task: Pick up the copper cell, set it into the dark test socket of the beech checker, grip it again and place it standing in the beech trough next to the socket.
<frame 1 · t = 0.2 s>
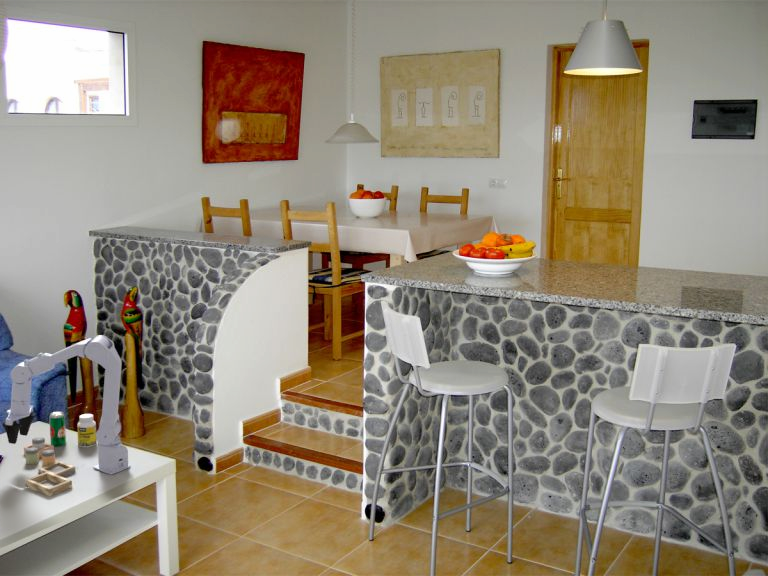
hand: (18, 438, 268), 10 cm above the table, tool pointing down, fingers open, 7 cm apart
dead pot: (39, 454, 282), on the table
pill bottle: (87, 446, 291), on the table
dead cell: (39, 453, 281), point 1 cm above the table, touching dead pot
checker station: (52, 477, 264), on the table
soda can: (58, 446, 290), on the table
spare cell: (32, 463, 274), on the table
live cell: (49, 466, 272), on the table
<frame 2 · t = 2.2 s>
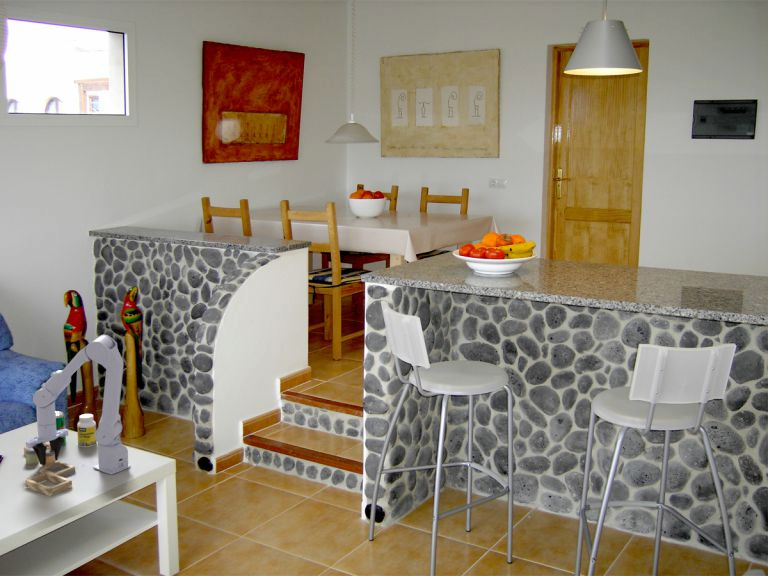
hand: (48, 462, 272), 1 cm above the table, tool pointing down, fingers closed on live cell, 4 cm apart
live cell: (49, 466, 272), on the table, touching gripper
everything else where it was.
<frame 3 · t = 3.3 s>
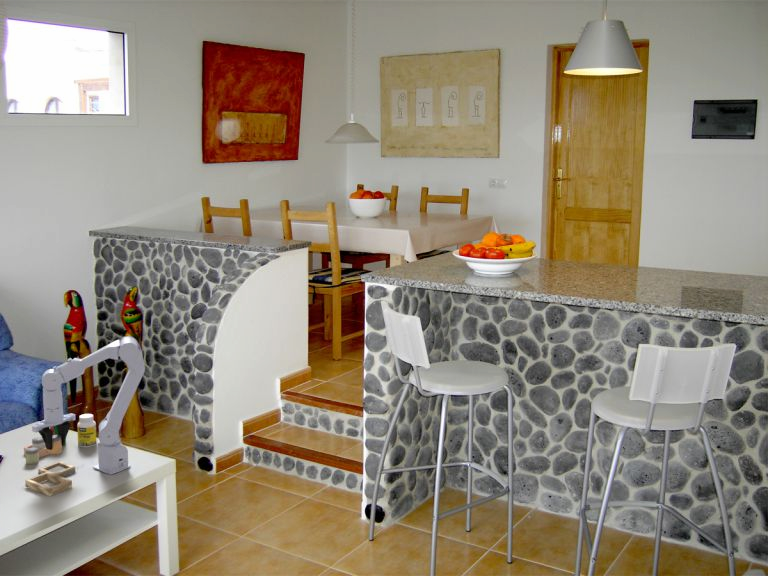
hand: (55, 447, 266), 9 cm above the table, tool pointing down, fingers closed on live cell, 4 cm apart
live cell: (55, 451, 266), point 7 cm above the table, touching gripper
everything else where it was.
when the fingers open (3 cm above the table, at t = 4.9 s): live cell stays where it is, resting on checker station.
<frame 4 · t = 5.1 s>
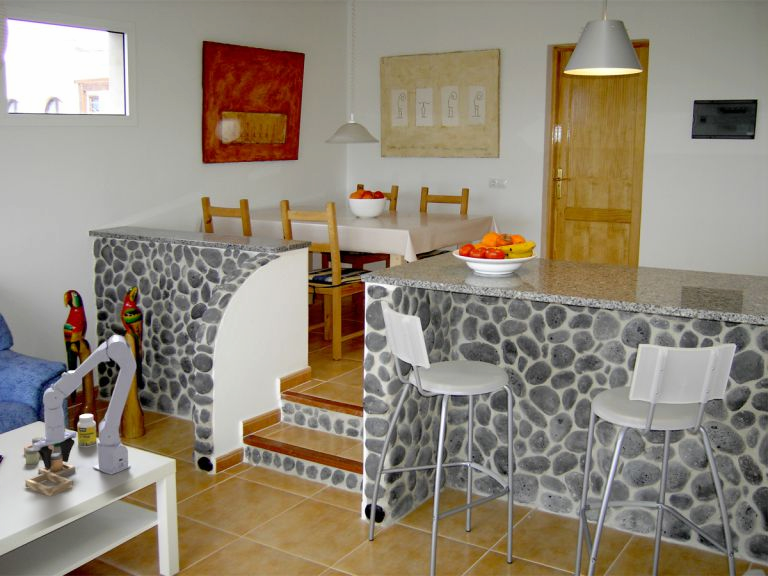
hand: (56, 464, 267), 3 cm above the table, tool pointing down, fingers open, 6 cm apart
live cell: (56, 470, 267), point 1 cm above the table, touching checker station
everything else where it was.
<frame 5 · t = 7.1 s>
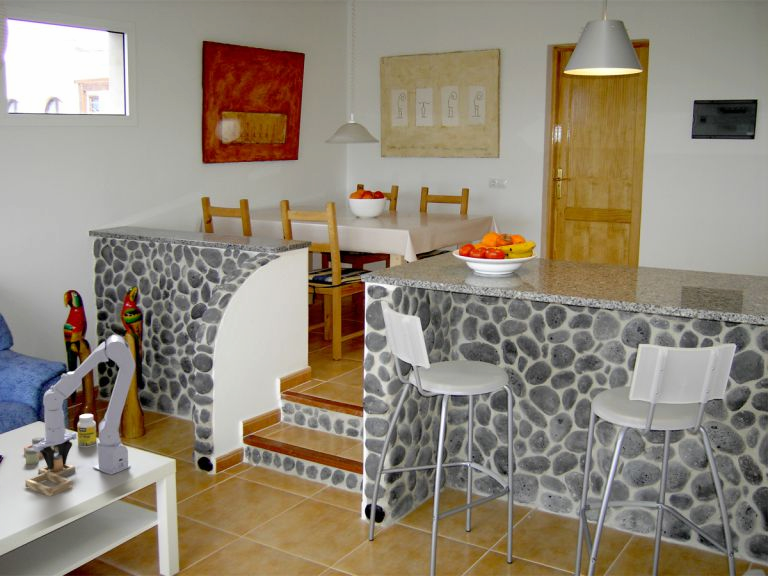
hand: (56, 466, 267), 2 cm above the table, tool pointing down, fingers closed on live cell, 4 cm apart
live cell: (56, 470, 267), point 1 cm above the table, touching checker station, gripper
everything else where it was.
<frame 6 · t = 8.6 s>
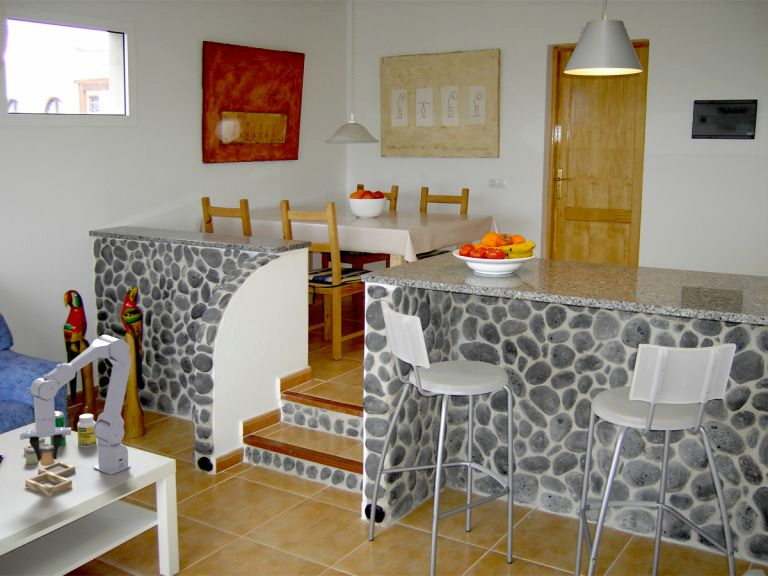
hand: (47, 458, 255), 9 cm above the table, tool pointing down, fingers closed on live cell, 4 cm apart
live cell: (47, 463, 256), point 8 cm above the table, touching gripper
everything else where it was.
when the fingers open (3 cm above the table, at t = 10.2 s): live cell stays where it is, resting in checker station.
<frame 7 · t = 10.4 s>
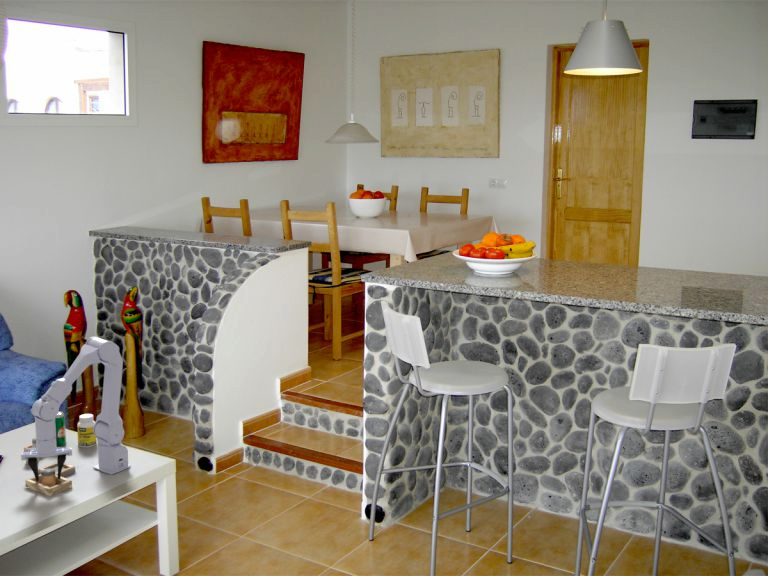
hand: (48, 479, 256), 3 cm above the table, tool pointing down, fingers open, 6 cm apart
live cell: (49, 486, 257), resting in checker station
everything else where it was.
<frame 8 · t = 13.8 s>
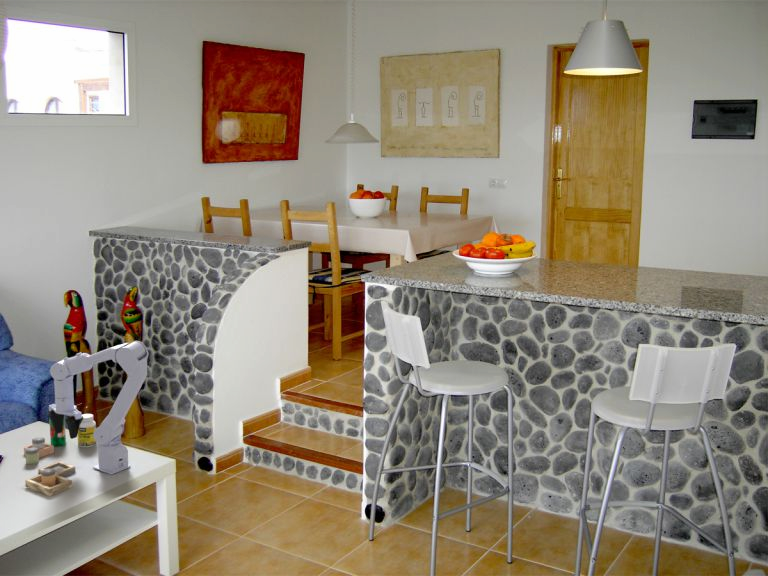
hand: (66, 435, 273), 10 cm above the table, tool pointing down, fingers open, 7 cm apart
nothing on the table moved.
at the end: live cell inside the target area on the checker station (0.6 cm from its centre), point 0.0 cm above the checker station's base; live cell tilted 0°; the gripper is holding nothing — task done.
